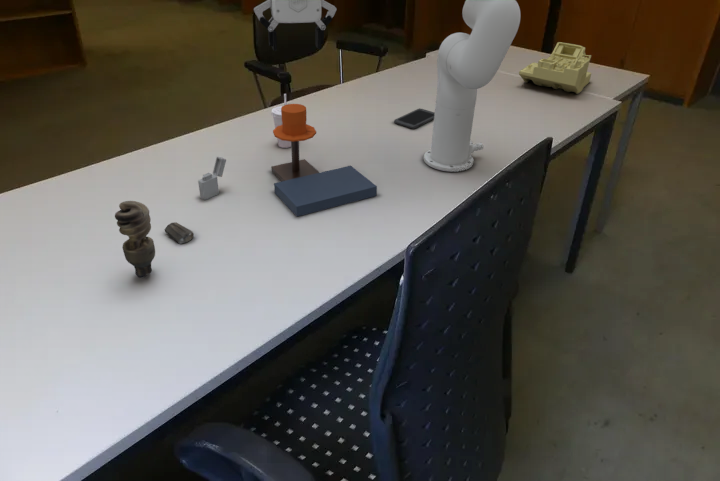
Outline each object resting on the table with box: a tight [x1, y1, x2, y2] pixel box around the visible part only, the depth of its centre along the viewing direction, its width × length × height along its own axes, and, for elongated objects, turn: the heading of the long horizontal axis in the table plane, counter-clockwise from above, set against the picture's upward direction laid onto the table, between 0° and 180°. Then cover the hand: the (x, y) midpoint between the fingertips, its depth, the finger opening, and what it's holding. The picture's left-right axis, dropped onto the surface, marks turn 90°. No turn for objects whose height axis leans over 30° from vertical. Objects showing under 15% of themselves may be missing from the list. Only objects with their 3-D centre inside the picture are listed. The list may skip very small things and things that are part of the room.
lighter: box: [197, 156, 227, 201], centre depth 129 cm, size 7×2×8 cm, turn 142°
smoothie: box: [271, 93, 291, 149], centre depth 151 cm, size 6×6×14 cm
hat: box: [272, 103, 317, 142], centre depth 132 cm, size 10×10×6 cm
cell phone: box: [393, 107, 435, 130], centre depth 172 cm, size 7×14×1 cm, turn 141°
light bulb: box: [114, 200, 156, 279], centre depth 101 cm, size 6×6×15 cm
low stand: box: [273, 165, 378, 217], centre depth 132 cm, size 20×12×2 cm, turn 120°
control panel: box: [518, 41, 593, 95], centre depth 199 cm, size 24×16×20 cm
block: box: [164, 221, 194, 244], centre depth 116 cm, size 4×6×2 cm, turn 52°
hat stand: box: [270, 141, 321, 182], centre depth 136 cm, size 9×9×14 cm
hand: (296, 48), depth 125 cm, fingers open, 9 cm apart
